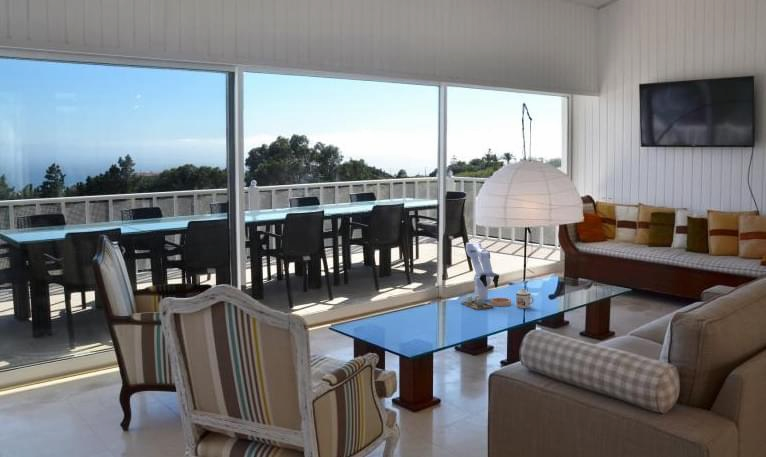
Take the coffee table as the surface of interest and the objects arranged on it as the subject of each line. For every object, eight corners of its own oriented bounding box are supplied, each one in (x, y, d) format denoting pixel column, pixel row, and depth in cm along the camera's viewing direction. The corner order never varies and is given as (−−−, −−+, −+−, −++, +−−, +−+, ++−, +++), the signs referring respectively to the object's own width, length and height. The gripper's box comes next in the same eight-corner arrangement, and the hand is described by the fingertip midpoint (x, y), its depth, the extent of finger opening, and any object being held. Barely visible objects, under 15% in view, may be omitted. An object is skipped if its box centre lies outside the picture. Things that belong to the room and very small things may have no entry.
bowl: (486, 303, 460) (486, 299, 459) (503, 301, 465) (503, 297, 464) (497, 307, 448) (497, 302, 448) (514, 305, 453) (514, 300, 453)
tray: (461, 304, 459) (460, 302, 458) (477, 302, 464) (477, 300, 463) (476, 311, 441) (476, 308, 440) (493, 308, 446) (493, 306, 445)
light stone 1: (464, 304, 457) (464, 296, 456) (470, 303, 458) (470, 295, 457) (468, 305, 453) (467, 297, 452) (473, 305, 454) (473, 296, 454)
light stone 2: (473, 303, 459) (472, 295, 458) (478, 302, 460) (478, 294, 460) (476, 304, 455) (476, 296, 455) (481, 304, 457) (481, 295, 456)
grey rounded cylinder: (476, 306, 449) (476, 298, 449) (481, 306, 451) (481, 297, 450) (479, 308, 446) (479, 299, 445) (484, 307, 447) (484, 298, 447)
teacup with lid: (513, 307, 449) (513, 289, 448) (521, 304, 456) (521, 286, 454) (529, 309, 441) (529, 291, 440) (537, 307, 447) (537, 289, 446)
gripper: (480, 264, 455) (484, 282, 447) (499, 265, 460) (504, 284, 452) (475, 269, 460) (479, 288, 453) (494, 271, 465) (499, 289, 458)
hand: (491, 286), depth 453 cm, fingers open, 7 cm apart
